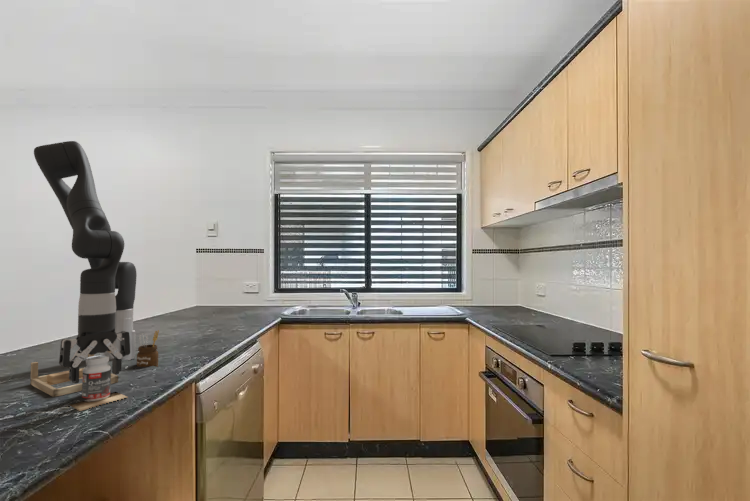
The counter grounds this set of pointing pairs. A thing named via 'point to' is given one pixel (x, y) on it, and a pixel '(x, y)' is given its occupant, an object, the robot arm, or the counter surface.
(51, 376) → the offcut top
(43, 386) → the rack
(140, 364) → the utensil holder
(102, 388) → the pill bottle
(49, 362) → the counter surface
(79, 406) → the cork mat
